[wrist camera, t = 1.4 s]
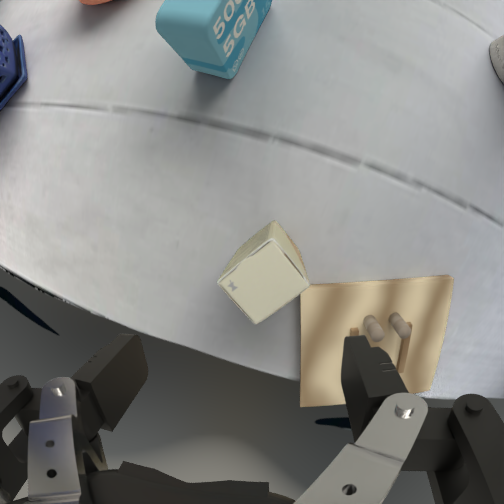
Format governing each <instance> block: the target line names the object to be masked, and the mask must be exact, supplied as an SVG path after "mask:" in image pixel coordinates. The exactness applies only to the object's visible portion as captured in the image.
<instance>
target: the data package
mask: <svg viewBox="0 0 504 504" xmlns="http://www.w3.org/2000/svg"><path fill="white" fill-rule="evenodd" d="M271 2H272V0H165V1H164V3H163V4H162V6H161V7H160V9H159V11H158V13H157V16H156V29H157V32H158V33H159V34H160V35H161V36H162V37H163V38H164V39H165V40H166V42H167V43H168V44H169V45H170V46H171V47H172V48H173V49H174V50H175V51H176V53H177V54H178V55H179V56H180V57H181V58H182V59H183V60H184V61H185V63H186V64H187V65H188V66H189V67H190V68H191V69H192V70H195V71H199V72H203V73H207V74H211V75H215V76H219V77H222V78H226V79H232V78H233V77H234V76H235V75H236V73H237V71H238V69H239V67H240V65H241V63H242V61H243V59H244V57H245V55H246V53H247V51H248V49H249V47H250V45H251V43H252V41H253V39H254V37H255V35H256V33H257V31H258V29H259V27H260V26H261V24H262V22H263V20H264V18H265V16H266V14H267V13H268V11H269V9H270V6H271Z"/></svg>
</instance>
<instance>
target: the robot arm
mask: <svg viewBox="0 0 504 504" xmlns="http://www.w3.org/2000/svg"><path fill="white" fill-rule="evenodd" d="M490 56H491V60H492V63H493V66H494V68H495V71H496V73H497V74H498V76H499V78H500V80H501V81H502V82H503V84H504V35H503V36H501V37H499V38H498V39H496V40H494V41H493V42H492V43H491V45H490ZM147 376H148V366H147V362H146V359H145V355H144V351H143V347H142V343H141V339H140V337H139V336H138V335H132V334H119V335H118V336H117V337H116V338H115V339H114V340H113V341H112V342H111V343H110V344H108V345H106V346H105V347H103V348H101V349H100V350H98V351H97V352H96V353H95V354H94V355H93V357H91V358H90V359H89V360H88V362H86V363H85V364H84V365H83V366H82V367H81V368H80V369H79V370H78V371H77V372H76V373H75V374H74V375H73V376H72V377H71V378H67V377H59V378H55V379H52V380H50V381H48V382H47V383H46V384H45V385H44V386H43V388H31V386H30V384H29V382H28V380H27V378H26V377H24V376H21V375H16V376H12V377H10V378H8V379H6V380H5V381H3V383H1V384H0V504H382V502H383V500H384V499H385V497H386V496H387V494H388V492H389V491H390V489H391V487H392V486H393V484H394V482H395V481H396V479H397V477H398V475H399V474H400V472H401V471H427V475H428V478H429V482H430V485H431V489H432V493H433V497H434V500H435V504H504V423H503V421H502V420H501V418H500V416H499V415H498V413H497V412H496V410H495V409H494V407H493V406H492V404H491V403H490V402H489V400H487V399H486V398H485V397H483V396H480V395H477V394H466V395H462V396H460V397H459V398H457V399H456V401H455V402H454V405H453V407H452V408H431V407H427V404H426V402H425V401H424V400H423V399H422V398H421V397H419V396H417V395H415V394H411V393H409V392H408V390H407V388H406V386H405V384H404V382H403V380H402V378H401V377H400V375H399V373H398V371H397V370H396V367H395V365H394V364H393V363H392V360H391V358H390V356H389V354H388V353H387V352H385V351H384V350H383V349H381V348H380V347H371V346H370V344H369V342H368V340H367V338H366V336H365V335H358V336H346V337H345V339H344V346H343V357H342V366H341V385H342V390H343V394H344V398H345V402H346V406H347V410H348V415H349V419H350V424H351V428H352V432H353V437H354V442H355V443H354V444H353V443H348V444H347V445H346V446H345V447H344V448H343V450H342V451H341V452H340V453H339V454H338V456H337V457H336V458H335V459H334V461H333V462H332V463H331V464H330V465H329V466H328V467H327V469H326V470H325V471H324V472H323V473H322V474H321V475H320V477H319V478H318V479H317V480H316V481H315V482H314V483H313V484H312V485H311V486H310V487H309V488H308V489H307V490H306V491H305V492H304V493H303V494H302V496H301V497H299V499H298V500H296V501H295V500H293V499H290V498H288V497H286V496H283V495H279V494H276V493H272V492H269V483H268V482H246V481H232V480H227V481H217V482H202V483H186V482H184V481H181V480H179V479H176V478H174V477H172V476H169V475H167V474H165V473H162V472H160V471H158V470H156V469H153V468H148V467H144V466H140V465H136V464H133V463H129V462H125V461H123V463H122V464H121V466H120V468H119V469H112V470H108V466H107V463H106V459H105V455H104V451H103V447H102V442H101V438H100V435H99V433H98V431H99V429H100V428H101V429H104V430H108V431H113V430H114V428H115V427H116V425H117V424H118V422H119V421H120V419H121V418H122V416H123V415H124V413H125V412H126V410H127V409H128V407H129V405H130V404H131V403H132V401H133V400H134V398H135V396H136V395H137V394H138V392H139V391H140V389H141V387H142V386H143V385H144V383H145V381H146V380H147ZM14 416H15V418H16V420H17V421H18V423H19V425H20V426H21V428H22V430H21V431H20V433H19V434H18V435H17V436H16V437H15V438H14V440H13V441H12V442H11V443H10V444H9V446H7V445H6V443H5V442H4V440H3V438H2V431H3V429H4V427H5V426H6V425H7V424H8V423H9V422H10V421H11V420H12V419H13V417H14ZM27 479H28V497H25V498H22V499H19V500H15V501H13V499H14V498H15V496H16V495H17V493H18V492H19V490H20V489H21V487H22V486H23V484H24V483H25V482H26V480H27Z"/></svg>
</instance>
